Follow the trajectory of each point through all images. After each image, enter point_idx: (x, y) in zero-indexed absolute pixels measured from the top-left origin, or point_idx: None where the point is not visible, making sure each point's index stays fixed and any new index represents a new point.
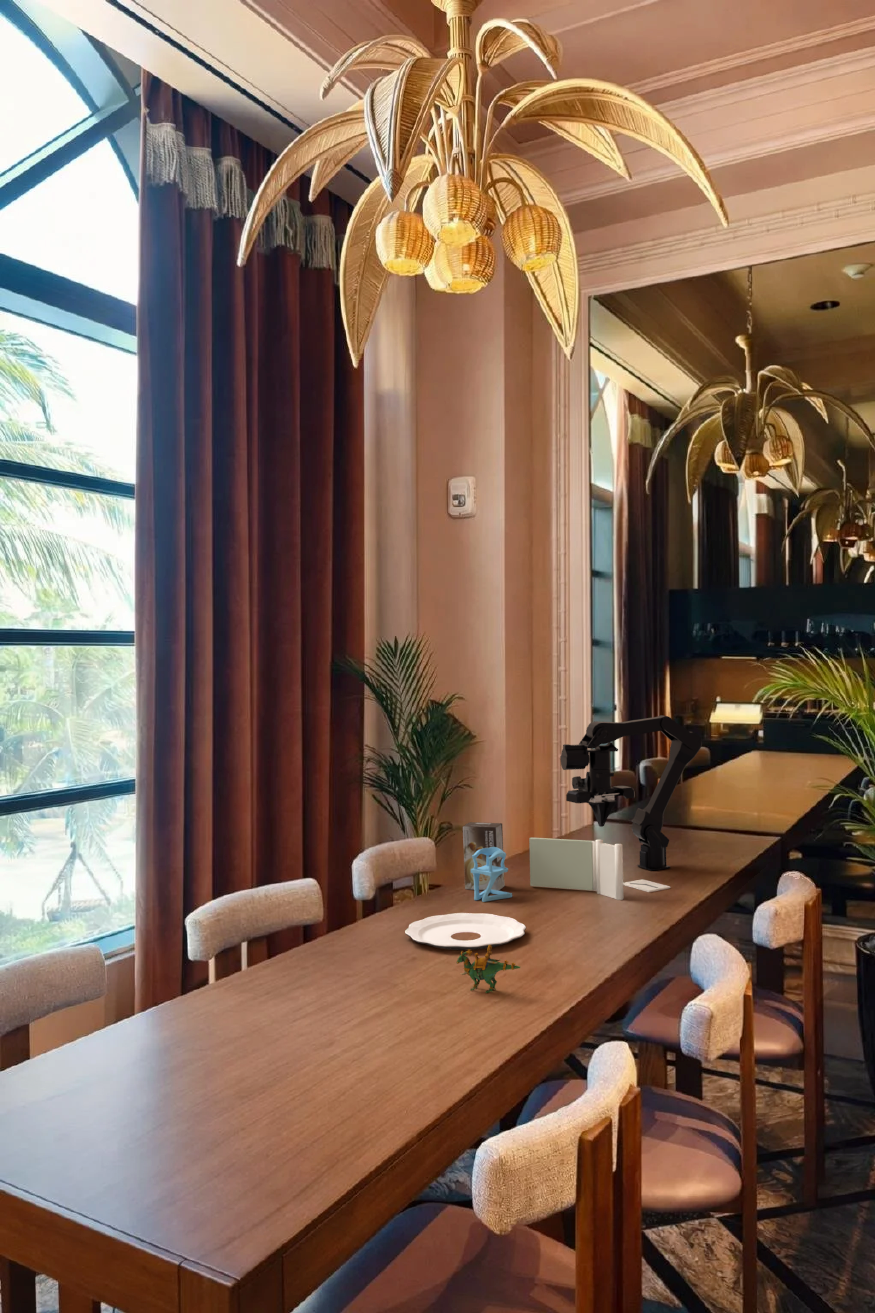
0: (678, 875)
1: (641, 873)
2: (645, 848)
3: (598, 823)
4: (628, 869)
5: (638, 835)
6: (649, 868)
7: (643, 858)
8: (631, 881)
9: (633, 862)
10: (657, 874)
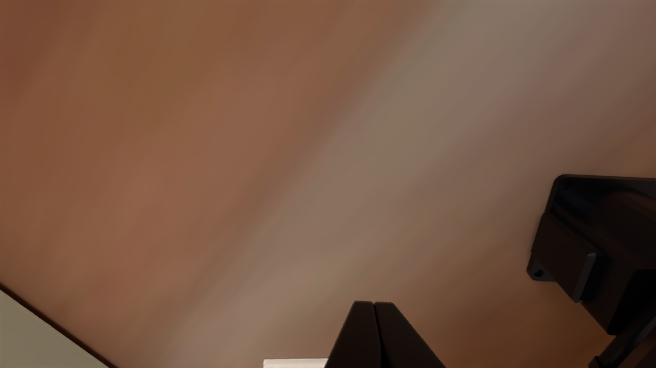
0: (541, 363)
1: (462, 274)
2: (605, 306)
3: (345, 328)
4: (482, 187)
5: (643, 354)
6: (533, 266)
7: (557, 264)
8: (308, 366)
9: (651, 67)
10: (496, 316)
